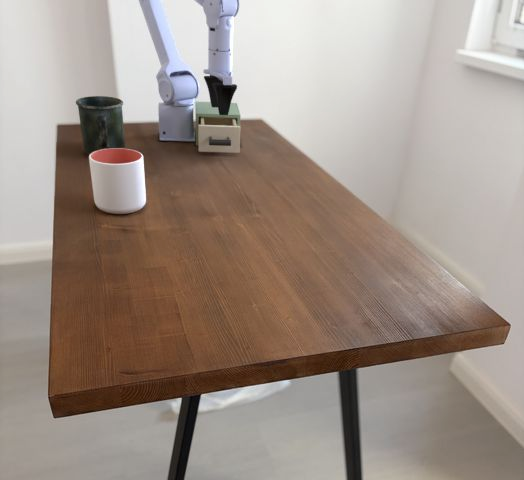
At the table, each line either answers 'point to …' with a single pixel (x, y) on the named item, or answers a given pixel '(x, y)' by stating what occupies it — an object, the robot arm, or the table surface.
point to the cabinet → (214, 113)
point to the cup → (118, 180)
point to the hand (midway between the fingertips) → (219, 110)
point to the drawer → (219, 135)
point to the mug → (101, 123)
